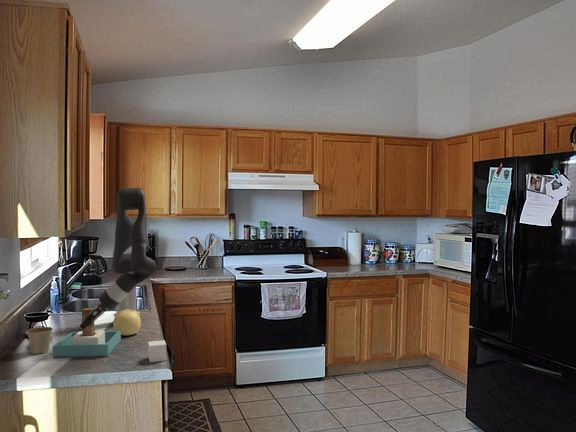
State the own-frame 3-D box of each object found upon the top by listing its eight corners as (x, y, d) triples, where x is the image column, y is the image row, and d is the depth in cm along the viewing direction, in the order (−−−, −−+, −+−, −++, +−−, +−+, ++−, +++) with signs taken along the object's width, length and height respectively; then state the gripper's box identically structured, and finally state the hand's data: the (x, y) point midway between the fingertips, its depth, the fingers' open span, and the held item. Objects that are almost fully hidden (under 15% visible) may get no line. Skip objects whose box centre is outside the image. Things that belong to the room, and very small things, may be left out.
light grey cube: (164, 355, 192) (164, 340, 192) (166, 360, 186) (166, 344, 186) (148, 357, 190) (148, 341, 190) (149, 362, 184) (149, 346, 184)
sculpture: (140, 329, 231) (140, 306, 230) (141, 336, 219) (140, 311, 219) (113, 331, 227) (113, 307, 227) (113, 338, 216) (112, 313, 215)
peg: (85, 338, 202) (84, 308, 202) (94, 338, 202) (94, 308, 202) (82, 340, 198) (81, 310, 198) (92, 340, 199) (91, 310, 198)
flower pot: (56, 347, 203) (56, 326, 203) (49, 354, 194) (49, 332, 194) (31, 349, 202) (30, 327, 201) (23, 356, 192) (22, 333, 192)
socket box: (71, 343, 210) (70, 328, 209) (120, 341, 211) (120, 327, 211) (53, 358, 190) (52, 342, 189) (108, 356, 191) (107, 340, 191)
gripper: (111, 285, 207) (81, 316, 207) (102, 291, 193) (69, 324, 193) (125, 298, 208) (95, 328, 207) (116, 305, 194) (84, 337, 193)
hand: (83, 326), depth 200 cm, fingers closed on peg, 3 cm apart
